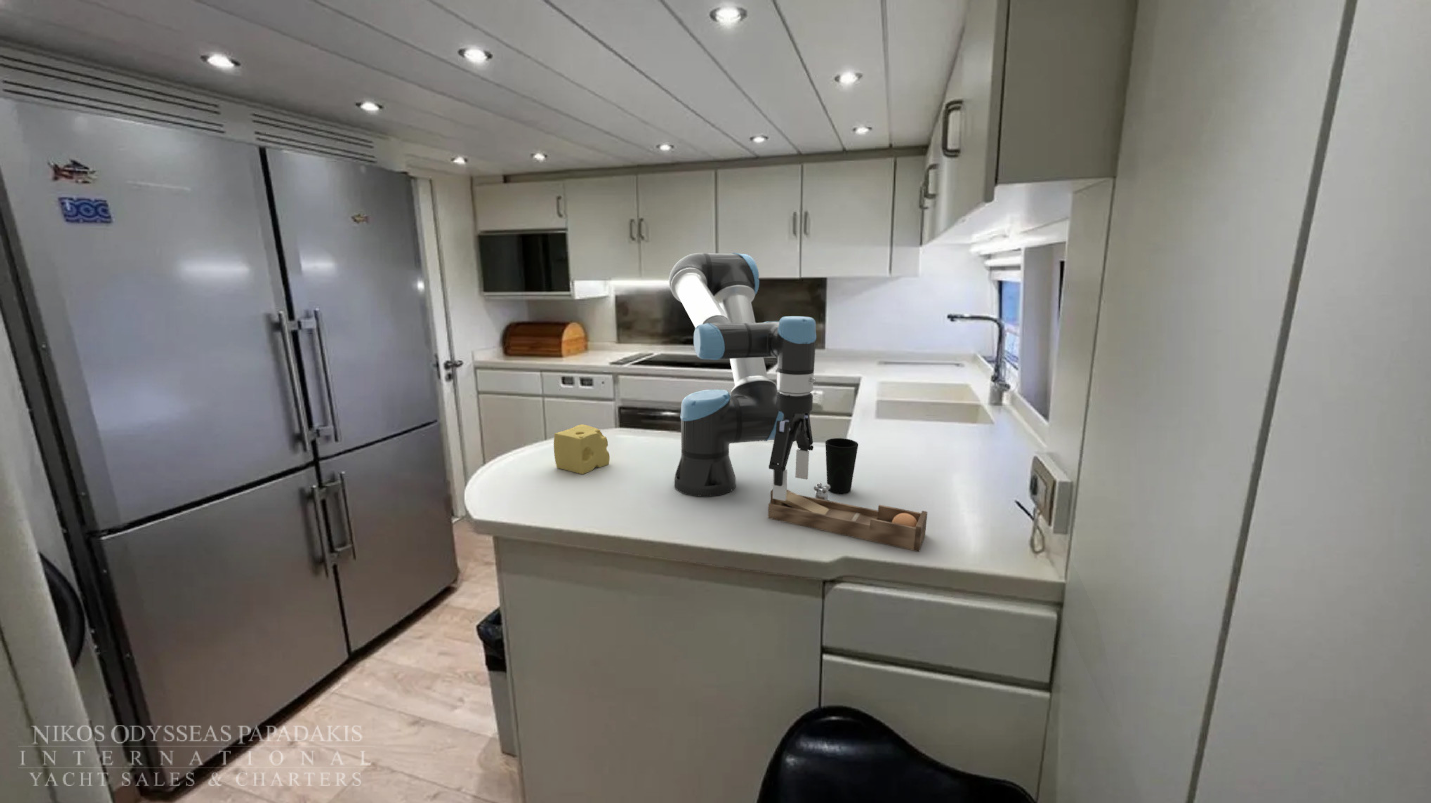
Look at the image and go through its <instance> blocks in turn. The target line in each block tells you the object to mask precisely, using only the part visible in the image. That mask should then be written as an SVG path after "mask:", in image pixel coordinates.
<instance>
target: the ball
mask: <svg viewBox="0 0 1431 803" xmlns="http://www.w3.org/2000/svg"><path fill="white" fill-rule="evenodd" d="M892 523H896V524H901V525H906V526H911V527H916V525H917V521H916V519H915V518H914V517H913V516H912V515H910V514H907V513H901V514H898V515H896V516H895V517H894V519H893V520H892Z"/></svg>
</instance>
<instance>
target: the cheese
mask: <svg viewBox="0 0 1431 803" xmlns="http://www.w3.org/2000/svg"><path fill="white" fill-rule="evenodd" d="M608 446H609V444H608V439H607V437H606V436H604V434H603V432H602V431H601V430H600V429H599V428H596V427H594V426H591V425H588V424H583V423H581V424H578V425H575V426H574V427H571V428H568V429H565V430H562V431H559V432H555V433H554V437H553V454H554V462H555V465H556V468H557V469H561V470H564V471H569V472H572V473H575V474H580V475H584V474H587V473H589V472H591V471H592V472H593V470H594V469H595V468H603V467H604V466H608V465H609V464H610V453H609V451H608V450H607V448H608Z"/></svg>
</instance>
